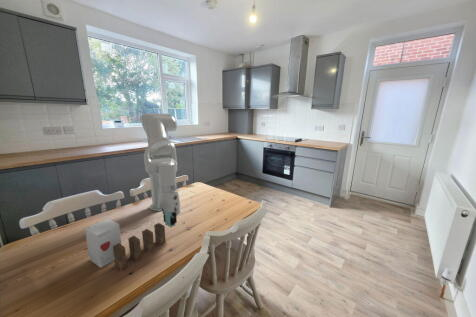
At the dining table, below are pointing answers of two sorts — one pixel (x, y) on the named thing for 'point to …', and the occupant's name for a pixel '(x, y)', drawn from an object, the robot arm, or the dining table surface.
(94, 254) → the supplement box
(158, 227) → the domino
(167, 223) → the domino
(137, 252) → the domino
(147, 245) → the domino
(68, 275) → the dining table surface
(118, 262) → the domino
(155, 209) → the robot arm
